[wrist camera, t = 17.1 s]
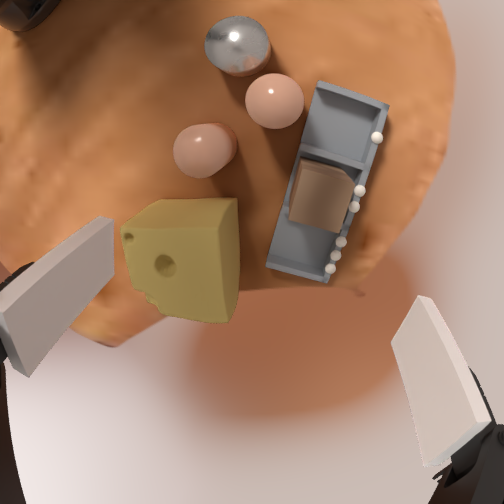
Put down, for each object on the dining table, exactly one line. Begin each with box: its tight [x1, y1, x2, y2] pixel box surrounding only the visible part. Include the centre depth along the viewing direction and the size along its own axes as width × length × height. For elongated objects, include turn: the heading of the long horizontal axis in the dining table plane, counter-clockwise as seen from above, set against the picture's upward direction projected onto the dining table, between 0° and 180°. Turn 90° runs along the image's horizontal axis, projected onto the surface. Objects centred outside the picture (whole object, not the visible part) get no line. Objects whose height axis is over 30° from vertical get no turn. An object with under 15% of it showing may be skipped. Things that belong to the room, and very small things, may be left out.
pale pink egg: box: [245, 74, 304, 129], centre depth 26 cm, size 5×5×6 cm
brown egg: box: [173, 123, 237, 178], centre depth 29 cm, size 5×5×6 cm
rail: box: [265, 80, 390, 283], centre depth 31 cm, size 21×8×3 cm, turn 166°
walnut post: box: [288, 156, 355, 234], centre depth 28 cm, size 4×4×8 cm
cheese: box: [120, 197, 240, 323], centre depth 32 cm, size 10×11×10 cm
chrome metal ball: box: [204, 16, 271, 77], centre depth 25 cm, size 6×6×4 cm
